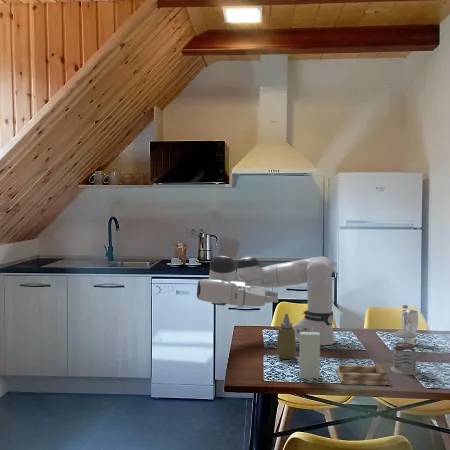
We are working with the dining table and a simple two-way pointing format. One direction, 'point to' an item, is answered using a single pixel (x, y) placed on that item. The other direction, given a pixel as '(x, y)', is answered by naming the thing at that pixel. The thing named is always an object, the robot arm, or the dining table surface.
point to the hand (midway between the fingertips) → (277, 297)
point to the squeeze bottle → (286, 340)
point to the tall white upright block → (309, 355)
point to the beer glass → (410, 324)
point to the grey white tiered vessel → (405, 353)
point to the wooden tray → (362, 374)
